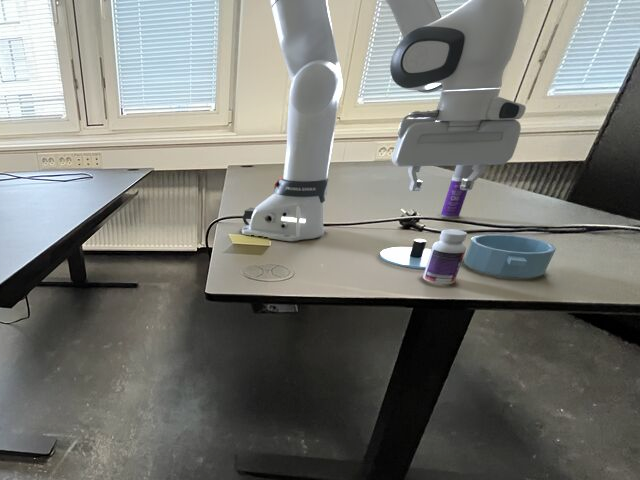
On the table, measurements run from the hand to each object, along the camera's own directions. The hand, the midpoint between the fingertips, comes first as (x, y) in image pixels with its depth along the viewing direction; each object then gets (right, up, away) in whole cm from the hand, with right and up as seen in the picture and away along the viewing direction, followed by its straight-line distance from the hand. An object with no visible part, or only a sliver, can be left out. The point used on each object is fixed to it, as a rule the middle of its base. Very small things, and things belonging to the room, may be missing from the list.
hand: (439, 190), depth 81 cm
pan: (+16, -15, +4) cm, 22 cm away
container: (+32, +9, +41) cm, 53 cm away
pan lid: (+1, -11, +9) cm, 15 cm away
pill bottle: (-1, -19, -1) cm, 19 cm away
